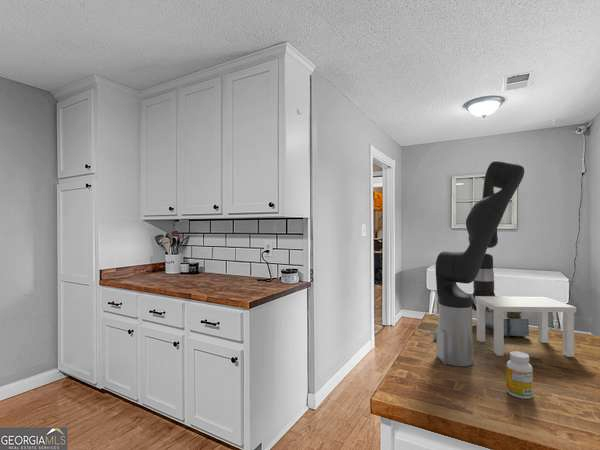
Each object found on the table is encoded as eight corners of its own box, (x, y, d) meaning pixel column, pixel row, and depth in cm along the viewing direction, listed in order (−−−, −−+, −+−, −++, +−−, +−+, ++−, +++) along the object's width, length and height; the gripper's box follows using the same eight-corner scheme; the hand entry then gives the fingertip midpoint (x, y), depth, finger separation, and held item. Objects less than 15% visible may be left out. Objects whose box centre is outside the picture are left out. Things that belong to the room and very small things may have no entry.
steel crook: (503, 335, 120) (503, 318, 120) (478, 321, 140) (477, 307, 140) (528, 335, 119) (528, 318, 120) (499, 321, 139) (499, 307, 140)
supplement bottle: (508, 385, 86) (508, 348, 86) (533, 392, 82) (533, 353, 82) (505, 394, 82) (504, 355, 81) (531, 401, 78) (531, 360, 78)
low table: (496, 356, 104) (496, 306, 104) (475, 339, 119) (475, 296, 119) (576, 357, 103) (576, 307, 103) (545, 340, 117) (544, 296, 117)
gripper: (470, 280, 134) (470, 323, 134) (506, 280, 133) (506, 323, 133) (462, 277, 142) (463, 318, 142) (496, 277, 141) (497, 318, 141)
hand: (484, 320), depth 137 cm, fingers closed on steel crook, 2 cm apart
